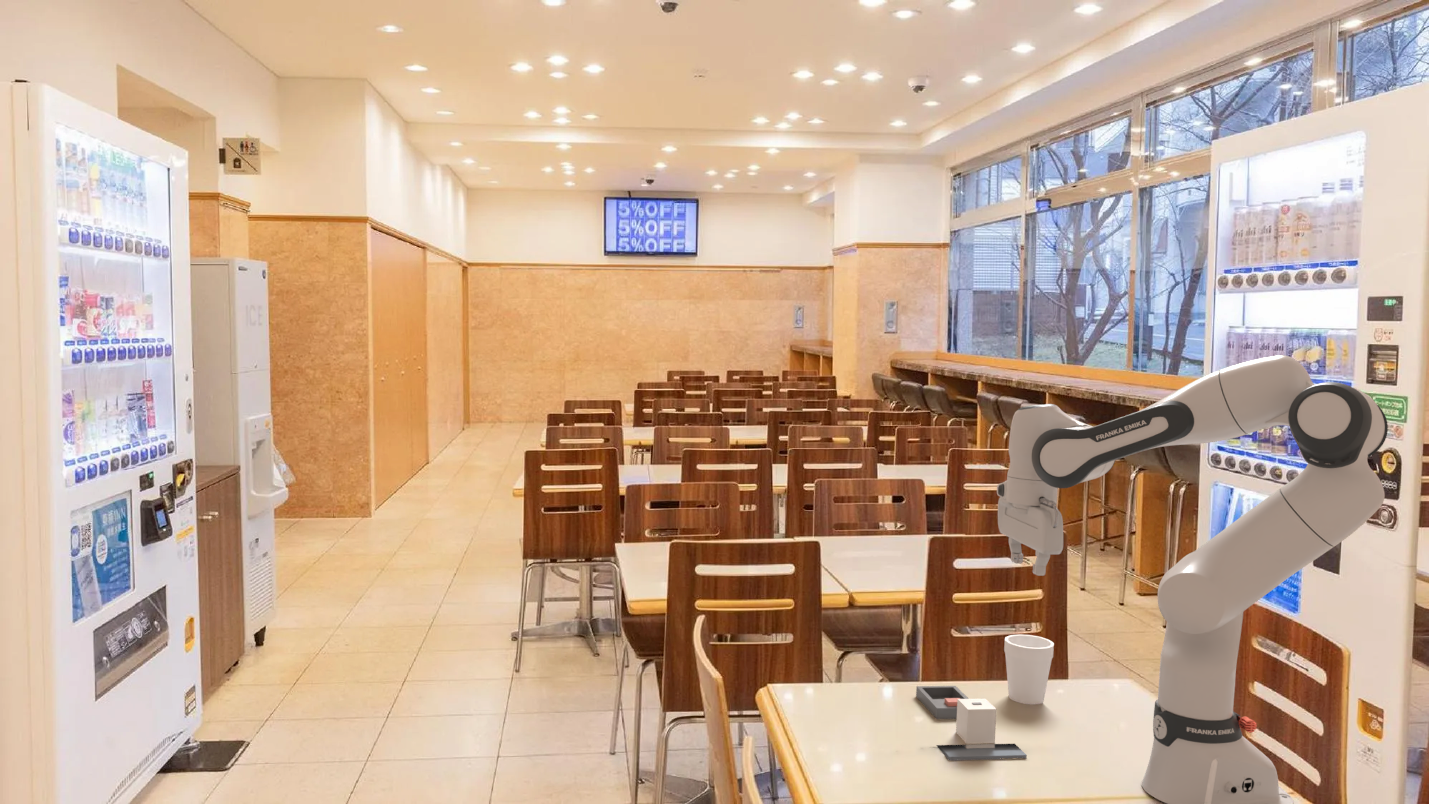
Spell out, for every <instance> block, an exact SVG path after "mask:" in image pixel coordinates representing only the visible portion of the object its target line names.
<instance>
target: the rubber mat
mask: <svg viewBox="0 0 1429 804" xmlns="http://www.w3.org/2000/svg"><path fill="white" fill-rule="evenodd" d="M994 744H995V748H965V747H964V745H965V744H939V745H937V744H936V745H935V746H936V747H937V748H938V749H939V750H940V752H941V753H942V754H943V755H944V757H946V759H947V760H948V761H971V760H973V761H975V760H976V761H978V760H982V761H983V760H1003V759H1002V758H1007V759H1006V760H1009V759H1008V758H1025V759H1027V756H1028V755H1027V754H1026V753H1025V752H1024V751H1023V750H1022V749H1021V748H1020V747H1019V746H1018V745H1017V744H1016V743H994ZM1000 758H1001V759H1000Z"/></svg>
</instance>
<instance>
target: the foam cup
mask: <svg viewBox="0 0 1429 804" xmlns="http://www.w3.org/2000/svg"><path fill="white" fill-rule="evenodd" d="M1054 646H1055V643H1054V642H1053V641H1052V640H1050V639H1048V638H1045V637H1042V636H1038V635H1032V634H1010V635H1008V636H1005V637H1004V647H1003V651H1004V654H1005V665H1006V666H1005V667H1006V668H1005V669H1006V678H1007V691H1008V698H1009V699H1010V700H1011V701H1014V702H1016V703H1020V704H1025V705H1040V704H1042V705H1044V701H1045V696H1046V690H1047V684H1048V679H1049V676H1050V670H1051V665H1052V660H1053V658H1054Z"/></svg>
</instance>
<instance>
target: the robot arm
mask: <svg viewBox="0 0 1429 804" xmlns="http://www.w3.org/2000/svg"><path fill="white" fill-rule="evenodd" d="M1278 426H1287V427H1289V430H1290V433H1291V435H1292V437H1293V439H1294V441H1295V443H1296V445H1297V446H1298V449H1299V451H1300V453H1301V456H1302V458H1303V459H1304V462H1306V463H1307V464H1306V466H1305V468H1304V469H1303V471H1301V472H1300V473H1299V474H1298V475H1297V476H1296V477H1294V478H1293V479H1292V480H1290V481H1289V482H1287V483H1286V484H1284V485H1283V486H1282V487H1280V488H1279V489H1277V490H1276V491H1275V492H1273V493H1272V494H1270V495H1269V496H1268V497H1267V498H1265V499H1264V500H1262V501H1261V502H1259V503H1258V504H1257V505H1255V506H1254V507H1252V508H1251V509H1250V510H1248V511H1247V512H1245V513H1244V514H1243V515H1242V516H1239V518H1237V519H1236V520H1234V521H1233V522H1231V523H1230V524H1229V525H1227V527H1225V528H1224V529H1223V530H1221V531H1220V532H1219V533H1217V534H1215V535H1214V536H1213V537H1212V538H1210V539H1209V540H1207V542H1205V543H1204V544H1202V545H1201V546H1200V547H1198V548H1197V549H1196V550H1194V551H1192V552H1190V553H1188V554H1186V555H1185V556H1183V557H1182V558H1181V559H1180V560H1179V561H1178V562H1176V563H1175V564H1174V565H1173V566H1172V567H1171V568H1170V569H1168V570H1167V571H1166V572H1165V573H1164V575H1163V576H1162V577H1161V580H1160V582H1159V584H1158V586H1157V587H1158V588H1157V605H1158V610H1159V612H1160V614H1161V616H1162V618H1163V619H1164V620H1165V621H1166V627H1165V633H1164V639H1163V643H1162V648H1161V651H1160V652H1161V653H1160V663H1159V672H1158V673H1159V674H1158V677H1159V678H1158V689H1157V690H1158V691H1157V699H1156V700H1155V702H1154V707H1153V708H1154V709H1153V720H1152V721H1153V722H1152V727H1153V728H1152V730H1153V741H1152V747H1151V752H1150V756H1149V761H1148V764H1147V767H1146V770H1145V773H1144V776H1143V778H1142V781H1141V787H1142V789H1144V791H1145V792H1146V793H1148V795H1150V796H1152V797H1154V798H1155V799H1156V800H1159V801H1161V802H1163V803H1165V804H1295V801H1294V800H1293V797H1291V795H1290V794H1289V793H1288V792H1287V791H1285V790H1284V789H1283V788H1282V787H1280V786H1279V777H1278V772H1277V769H1276V766H1275V765H1274V763H1273V761H1272V760H1271V759H1270V758H1269V757H1268V756H1266V754H1264V753H1263V752H1262V751H1261V750H1260V749H1258V748H1257V747H1256V746H1255V745H1254V744H1253V743H1252V742H1250V741H1249V740H1248V739H1247V738H1246V737H1245V736H1243V732H1242V730H1241V729H1243V730H1245V731H1246V732H1247V733H1250V734H1252V733H1254V732H1255V731H1256V730H1257V727H1258V724H1257V722H1256V721H1255V720H1253V719H1251V718H1250V717H1249V716H1242V717H1241V714H1238V713H1237V712H1235V711H1234V701H1235V689H1236V674H1237V673H1236V671H1237V662H1238V657H1239V656H1238V655H1239V650H1240V642H1241V641H1240V640H1241V634H1242V626H1243V619H1244V612H1245V611H1246V610H1248V609H1249V608H1250V607H1252V606H1253V605H1254V604H1255V603H1257V602H1258V601H1259V600H1261V599H1262V598H1264V597H1265V596H1266V595H1267V594H1269V593H1270V592H1272V591H1273V590H1274V589H1276V588H1277V587H1278V586H1280V585H1281V584H1282V583H1283V582H1285V581H1286V580H1287V579H1289V578H1290V577H1292V576H1293V575H1295V574H1296V573H1298V572H1299V571H1300V570H1303V568H1305V567H1306V566H1308V565H1309V564H1311V563H1313V562H1314V561H1315V560H1317V559H1319V558H1320V557H1321V556H1323V555H1324V554H1325V553H1327V552H1329V551H1330V550H1331V549H1333V548H1335V546H1337V545H1338V544H1340V543H1342V542H1343V541H1345V540H1346V539H1347V538H1349V536H1351V535H1352V534H1354V532H1355V533H1356V531H1357V530H1358V529H1359V528H1361V527H1362V525H1364V524H1365V523H1366V522H1367V521H1368V520H1370V518H1372V516H1373V515H1374V514H1375V513H1376V512H1378V510H1379V509H1381V506H1383V503H1384V501H1385V496H1386V495H1385V489H1384V486H1383V484H1382V481H1381V479H1380V478H1379V476H1378V475H1377V473H1376V472H1375V471H1374V470H1373V469H1372V468H1371V467H1370V465H1369V464H1370V463H1369V462H1368V458H1370V457H1372V456H1373V455H1374V454H1376V453H1377V452H1378V451H1379V450H1380V449H1381V448H1382V447H1383V445H1384V443H1385V441H1386V439H1387V436H1388V429H1389V427H1388V420H1387V417H1386V415H1385V412H1384V411H1383V409H1382V408H1381V407H1380V406H1379V405H1378V404H1377V403H1376V402H1375V400H1374V399H1373V398H1372V397H1371V396H1370V395H1368V394H1367V393H1366V392H1364V391H1362V390H1360V389H1357V388H1355V387H1352V386H1350V385H1348V384H1345V383H1343V382H1342V383H1341V382H1336V381H1327V382H1320V383H1316V384H1315V383H1313V380H1312V378H1311V376H1310V374H1309V372H1308V371H1307V369H1306V368H1305V367H1304V366H1303V364H1302V363H1300V362H1299V360H1298V359H1297V360H1296V359H1295V358H1294V357H1291V356H1288V355H1285V354H1284V355H1283V354H1277V355H1271V356H1266V357H1261V358H1256V359H1251V360H1249V361H1248V360H1247V361H1244V362H1241V363H1237V364H1234V365H1231V366H1227V367H1224V368H1221V369H1218V370H1216V371H1213V372H1211V373H1208V374H1207V375H1204V376H1201V377H1199V378H1197V379H1196V380H1193V381H1191V382H1190V383H1187V384H1186V385H1184V386H1182V387H1180V388H1179V389H1177V390H1176V391H1173V392H1172V393H1170V394H1169V395H1167V396H1165V397H1163V398H1161V399H1159V400H1158V401H1156V402H1155V403H1152V404H1151V405H1149V406H1147V407H1144V408H1142V409H1140V410H1138V411H1135V412H1132V413H1130V414H1126V415H1125V416H1121V417H1118V418H1115V419H1111V420H1109V421H1107V422H1104V423H1100V424H1098V425H1095V426H1092V425H1089V424H1087V423H1085V422H1083V421H1081V420H1078V419H1077V418H1075V417H1072V416H1070V415H1069V414H1067V413H1066V412H1064V411H1063V410H1062V409H1061V408H1060V407H1059V406H1058V405H1056V404H1052V403H1045V404H1034V405H1027V406H1022V407H1020V408H1018V409H1017V410H1016V411H1014V414H1013V416H1012V421H1011V423H1010V431H1009V439H1008V455H1009V467H1008V470H1007V475H1006V480H1005V481H1003V482H1000V483H999V484H997V486H996V494H997V496H998V497H999V498H998V501H997V525H998V531H999V533H1000V534H1001V535H1004V536H1006V537H1007V538H1008V545H1009V546H1008V547H1009V550H1010V561H1011V562H1012V563H1014V564H1023V562H1024V553H1022V545H1024V546H1026V547H1028V548H1030V549H1032V550H1034V551H1035V556H1036V559H1035V563H1033V564H1032V573H1033V575H1036V576H1039V577H1040V576H1042V577H1043V576H1045V575H1046V571H1047V565H1048V562H1050V561H1049V560H1050V558H1051V555H1060V554H1062V551H1063V549H1064V521H1063V519H1064V518H1063V515H1062V513H1061V511H1060V510H1059V509H1058V508H1057V504H1058V489H1068V488H1071V487H1074V486H1077V485H1078V484H1081V483H1084V482H1088V481H1091V480H1096V479H1098V478H1100V477H1102V476H1104V475H1105V474H1107V473H1108V472H1109V471H1110V470H1111V469H1112V468H1113V467H1114V464H1115V462H1116V460H1120V459H1123V458H1127V457H1128V456H1132V455H1135V454H1138V453H1142V452H1144V451H1148V450H1151V449H1156V448H1162V447H1169V446H1170V447H1171V446H1180V445H1181V446H1182V445H1183V446H1184V445H1201V444H1210V443H1215V442H1222V441H1227V440H1233V439H1236V438H1239V437H1242V436H1246V435H1249V434H1251V433H1255V432H1258V431H1261V430H1264V429H1267V428H1271V427H1278Z"/></svg>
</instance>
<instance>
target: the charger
mask: <svg viewBox="0 0 1429 804" xmlns="http://www.w3.org/2000/svg"><path fill="white" fill-rule="evenodd" d="M955 723H956V724H955V733H956V734H957V735H958V736H959V737H960V738H961V740H962V741H963V742H964V743H965V744H963V745H964V747H965V748H995V744H996V729H997V728H996V725H997V708H996V707H995V706H994V704H992V703H991V702H990V701H989V700H988V699H986V698H969V699H958V700H957V719H956V721H955Z"/></svg>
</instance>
